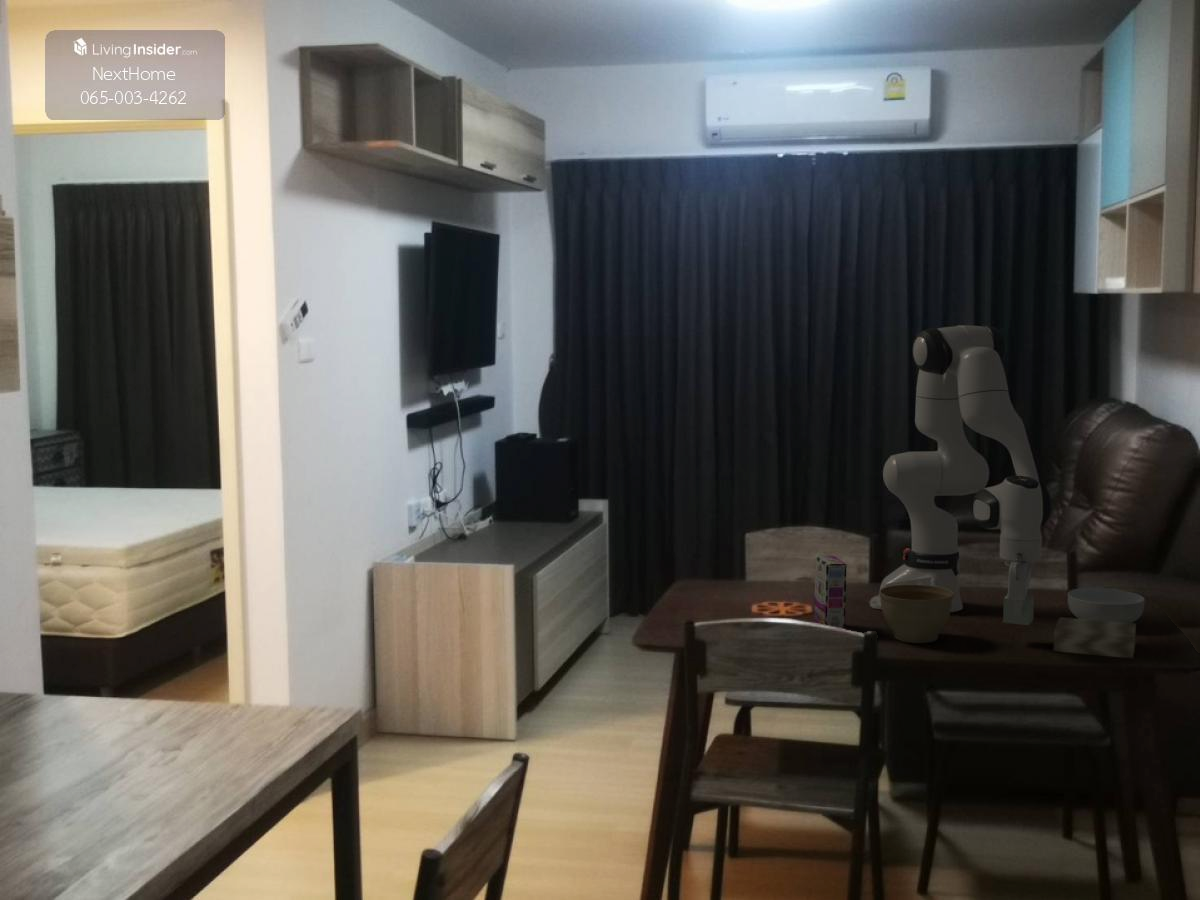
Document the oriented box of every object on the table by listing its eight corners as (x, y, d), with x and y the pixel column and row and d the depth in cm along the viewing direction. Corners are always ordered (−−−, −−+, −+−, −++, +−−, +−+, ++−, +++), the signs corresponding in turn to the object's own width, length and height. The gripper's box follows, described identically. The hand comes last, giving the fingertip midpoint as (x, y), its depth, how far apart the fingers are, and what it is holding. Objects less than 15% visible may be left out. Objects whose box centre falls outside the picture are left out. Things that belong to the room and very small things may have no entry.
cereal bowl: (1079, 633, 307) (1079, 602, 306) (1057, 616, 323) (1058, 587, 322) (1154, 633, 306) (1155, 603, 305) (1129, 616, 322) (1130, 587, 322)
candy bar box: (846, 634, 307) (847, 563, 305) (825, 635, 307) (825, 564, 305) (834, 622, 318) (834, 554, 316) (813, 623, 318) (814, 555, 316)
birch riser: (1053, 652, 291) (1054, 630, 291) (1059, 638, 303) (1059, 617, 302) (1132, 660, 285) (1133, 637, 284) (1135, 645, 297) (1136, 623, 296)
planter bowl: (885, 627, 313) (885, 582, 312) (956, 633, 307) (957, 586, 306) (873, 644, 298) (873, 596, 297) (947, 650, 292) (948, 601, 291)
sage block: (1003, 622, 296) (1003, 598, 296) (1007, 616, 301) (1008, 593, 300) (1028, 625, 294) (1029, 600, 293) (1033, 619, 299) (1033, 595, 298)
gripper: (1033, 560, 285) (1031, 623, 286) (1037, 542, 304) (1035, 602, 305) (1002, 558, 287) (1000, 621, 289) (1008, 541, 306) (1006, 600, 308)
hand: (1018, 611), depth 297 cm, fingers closed on sage block, 6 cm apart
